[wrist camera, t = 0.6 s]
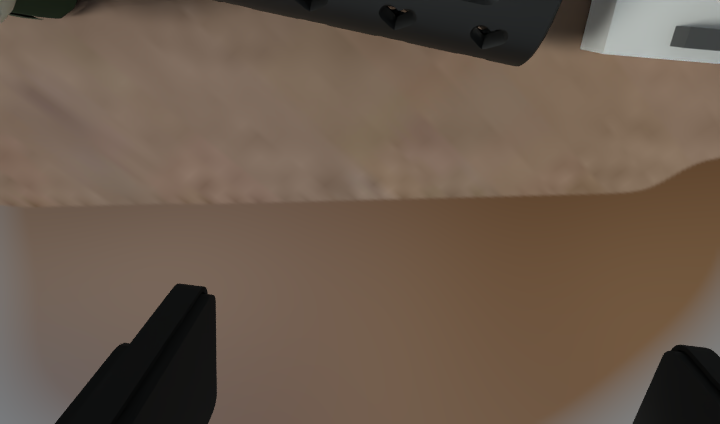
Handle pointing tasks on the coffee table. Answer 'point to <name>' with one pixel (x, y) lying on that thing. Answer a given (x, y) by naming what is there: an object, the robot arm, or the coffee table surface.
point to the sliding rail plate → (696, 38)
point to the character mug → (35, 8)
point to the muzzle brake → (434, 22)
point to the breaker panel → (649, 28)
